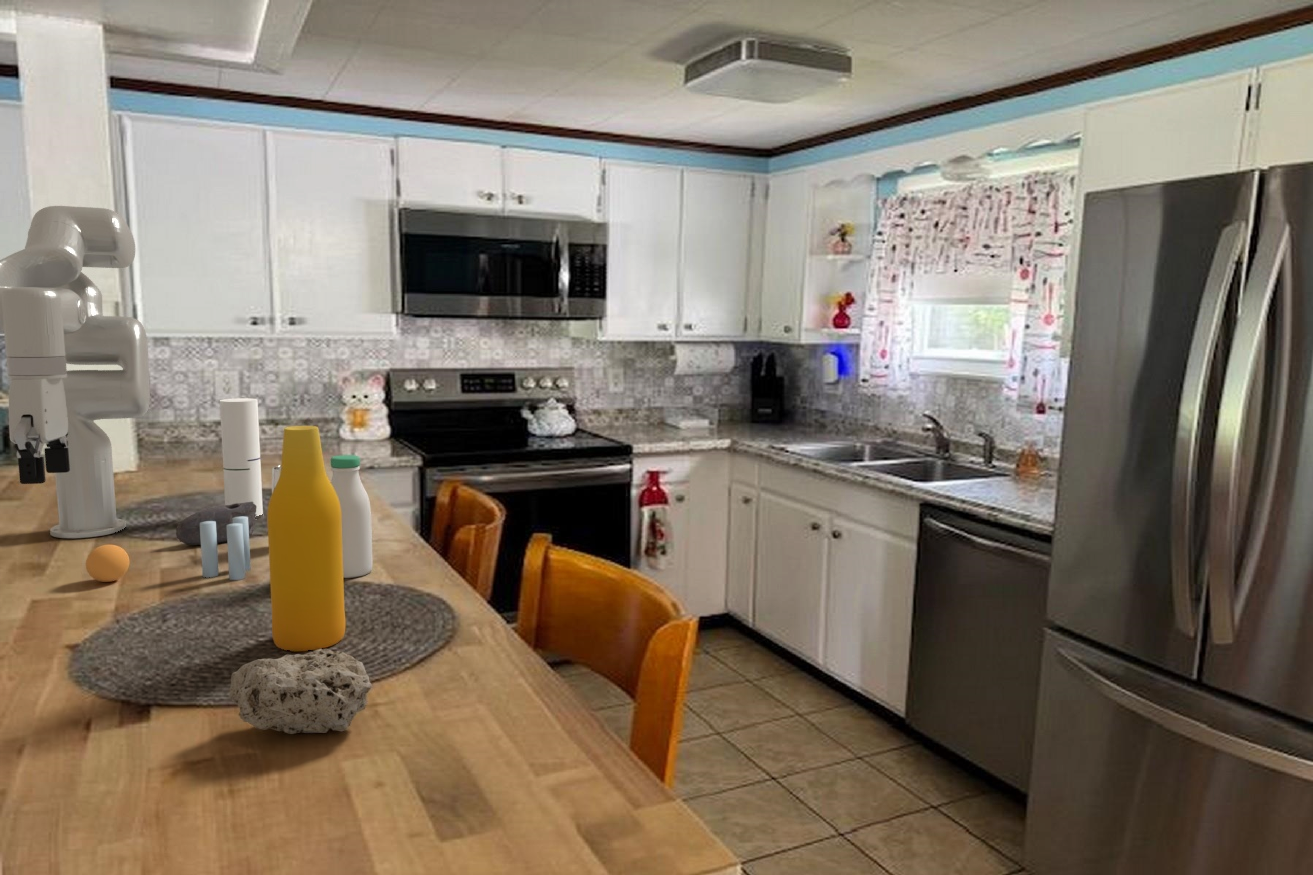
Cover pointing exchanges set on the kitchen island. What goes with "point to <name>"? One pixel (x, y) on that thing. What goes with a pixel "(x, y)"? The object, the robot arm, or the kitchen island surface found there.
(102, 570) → the ball
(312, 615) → the beer bottle
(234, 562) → the pin back left
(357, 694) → the pumice stone
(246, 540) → the pin back right
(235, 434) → the cylindrical container
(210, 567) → the pin front
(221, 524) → the perforated stone tool
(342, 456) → the milk bottle
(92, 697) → the kitchen island surface
